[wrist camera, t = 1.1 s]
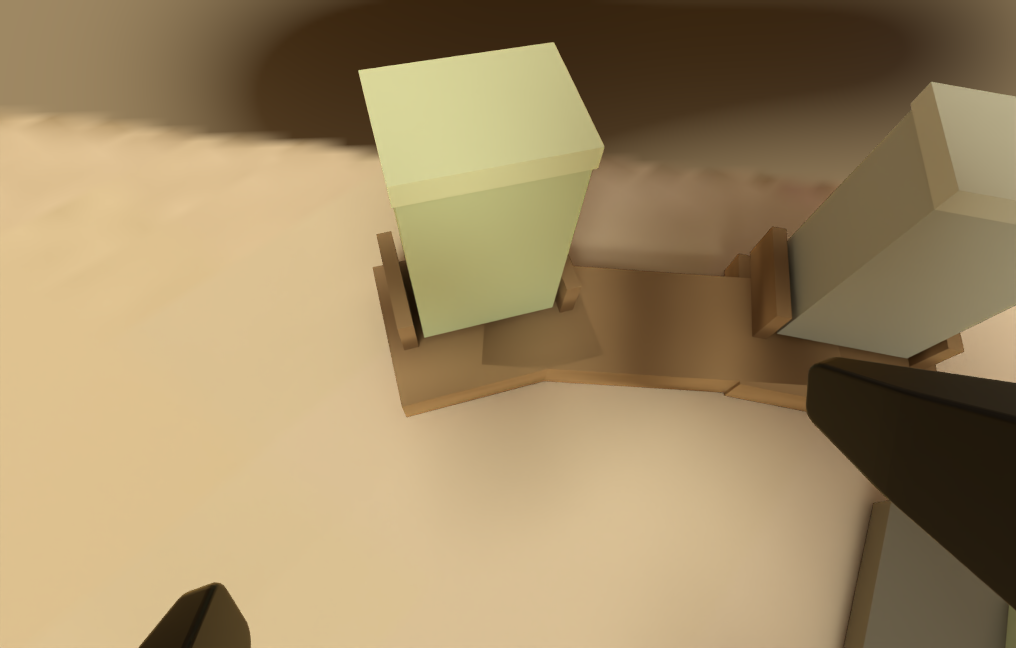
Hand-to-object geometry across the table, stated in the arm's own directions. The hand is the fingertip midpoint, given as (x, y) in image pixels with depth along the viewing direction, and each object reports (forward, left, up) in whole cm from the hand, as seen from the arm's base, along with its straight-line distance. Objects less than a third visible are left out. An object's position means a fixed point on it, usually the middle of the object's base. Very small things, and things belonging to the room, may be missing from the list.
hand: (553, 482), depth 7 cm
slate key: (-8, -15, -11) cm, 21 cm away
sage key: (+6, -8, -11) cm, 15 cm away
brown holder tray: (-2, -10, -13) cm, 17 cm away
